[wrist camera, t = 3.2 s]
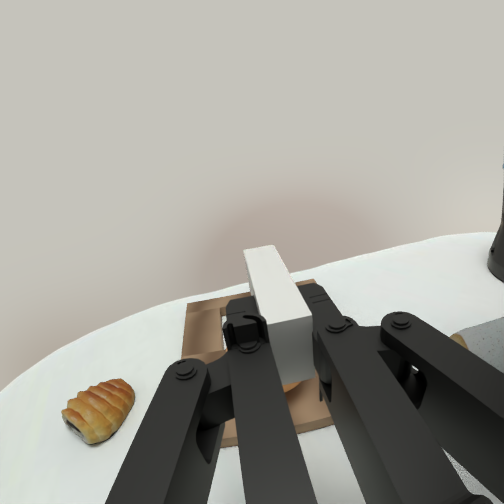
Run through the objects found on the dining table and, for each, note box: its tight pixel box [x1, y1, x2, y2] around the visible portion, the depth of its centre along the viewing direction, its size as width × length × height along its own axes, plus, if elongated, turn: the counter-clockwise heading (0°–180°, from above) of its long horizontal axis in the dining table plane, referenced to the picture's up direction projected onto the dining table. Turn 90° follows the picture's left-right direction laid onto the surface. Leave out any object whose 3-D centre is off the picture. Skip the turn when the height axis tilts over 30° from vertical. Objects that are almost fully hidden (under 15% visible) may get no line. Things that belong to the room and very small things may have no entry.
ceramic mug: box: [449, 317, 504, 373], centre depth 21 cm, size 11×8×8 cm
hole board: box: [181, 279, 334, 448], centre depth 36 cm, size 20×26×2 cm
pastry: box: [61, 379, 135, 444], centre depth 28 cm, size 9×7×4 cm
